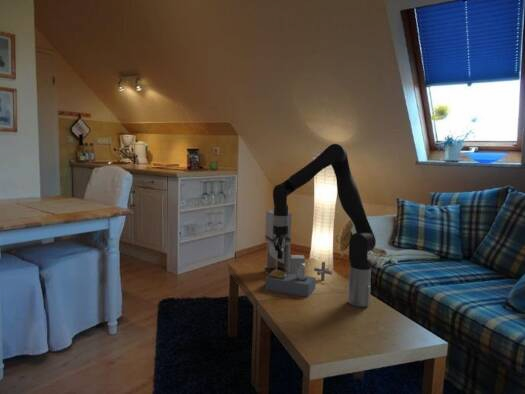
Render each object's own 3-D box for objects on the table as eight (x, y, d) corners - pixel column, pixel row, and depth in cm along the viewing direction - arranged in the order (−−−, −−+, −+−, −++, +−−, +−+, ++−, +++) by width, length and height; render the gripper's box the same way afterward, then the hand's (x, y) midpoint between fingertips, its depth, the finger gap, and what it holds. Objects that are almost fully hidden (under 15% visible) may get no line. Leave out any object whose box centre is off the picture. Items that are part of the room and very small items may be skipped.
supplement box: (304, 281, 210) (305, 258, 209) (290, 281, 211) (290, 258, 209) (302, 277, 218) (303, 254, 216) (289, 277, 218) (290, 254, 216)
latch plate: (289, 274, 203) (289, 272, 203) (283, 279, 195) (283, 277, 195) (275, 270, 206) (275, 268, 205) (269, 275, 198) (269, 273, 198)
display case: (264, 271, 227) (266, 210, 222) (282, 270, 230) (284, 210, 226) (270, 277, 216) (272, 213, 212) (289, 276, 219) (291, 213, 215)
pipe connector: (326, 284, 207) (327, 266, 206) (309, 280, 213) (310, 262, 212) (335, 280, 215) (336, 262, 213) (319, 276, 221) (319, 258, 219)
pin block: (315, 289, 200) (315, 277, 199) (308, 297, 189) (308, 284, 188) (274, 282, 208) (274, 271, 208) (265, 289, 198) (265, 277, 197)
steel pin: (305, 290, 198) (306, 262, 196) (302, 292, 194) (304, 265, 193) (297, 289, 199) (298, 261, 198) (295, 291, 196) (296, 263, 194)
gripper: (278, 221, 204) (277, 254, 206) (268, 225, 192) (268, 260, 194) (292, 222, 202) (291, 256, 204) (283, 227, 189) (282, 262, 191)
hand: (279, 258), depth 199 cm, fingers closed
